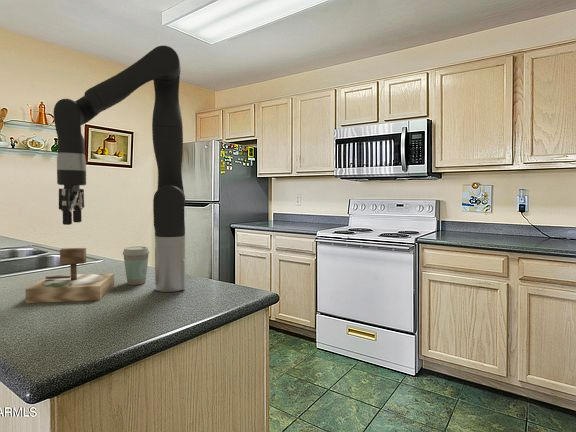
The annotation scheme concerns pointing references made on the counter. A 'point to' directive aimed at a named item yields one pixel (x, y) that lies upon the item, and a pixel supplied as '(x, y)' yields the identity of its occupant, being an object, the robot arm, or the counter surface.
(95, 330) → the counter surface
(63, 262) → the key
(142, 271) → the coffee cup
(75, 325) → the counter surface
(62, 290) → the dial board
